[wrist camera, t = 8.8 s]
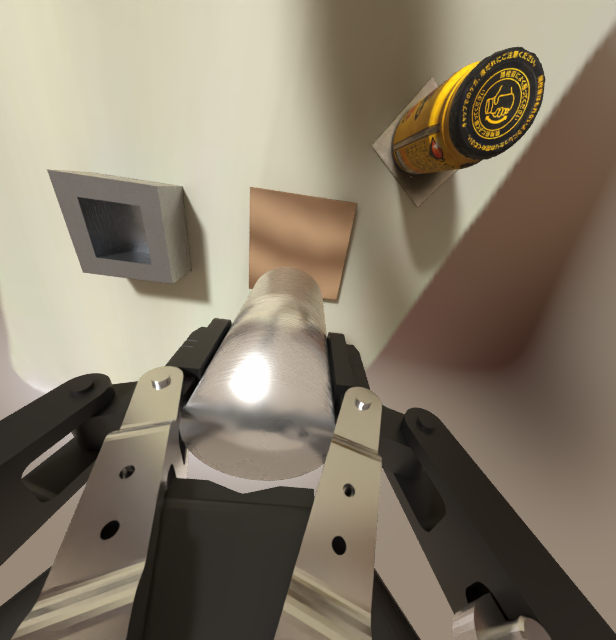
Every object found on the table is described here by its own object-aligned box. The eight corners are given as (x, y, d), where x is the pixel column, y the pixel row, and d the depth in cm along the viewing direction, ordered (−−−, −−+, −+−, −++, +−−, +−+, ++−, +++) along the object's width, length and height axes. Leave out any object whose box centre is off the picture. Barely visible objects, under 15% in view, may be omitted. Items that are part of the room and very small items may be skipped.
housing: (90, 172, 26) (47, 169, 22) (182, 186, 27) (157, 186, 22) (114, 260, 31) (83, 272, 27) (191, 270, 32) (172, 283, 27)
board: (252, 187, 27) (250, 187, 26) (355, 203, 27) (357, 203, 26) (250, 285, 33) (248, 288, 32) (335, 296, 33) (336, 299, 32)
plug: (252, 261, 15) (166, 372, 6) (328, 272, 15) (353, 392, 6) (251, 327, 17) (188, 474, 8) (316, 334, 17) (323, 485, 9)
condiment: (431, 77, 22) (539, -21, 12) (475, 152, 25) (592, 127, 15) (371, 146, 25) (414, 116, 14) (416, 207, 28) (480, 219, 17)
